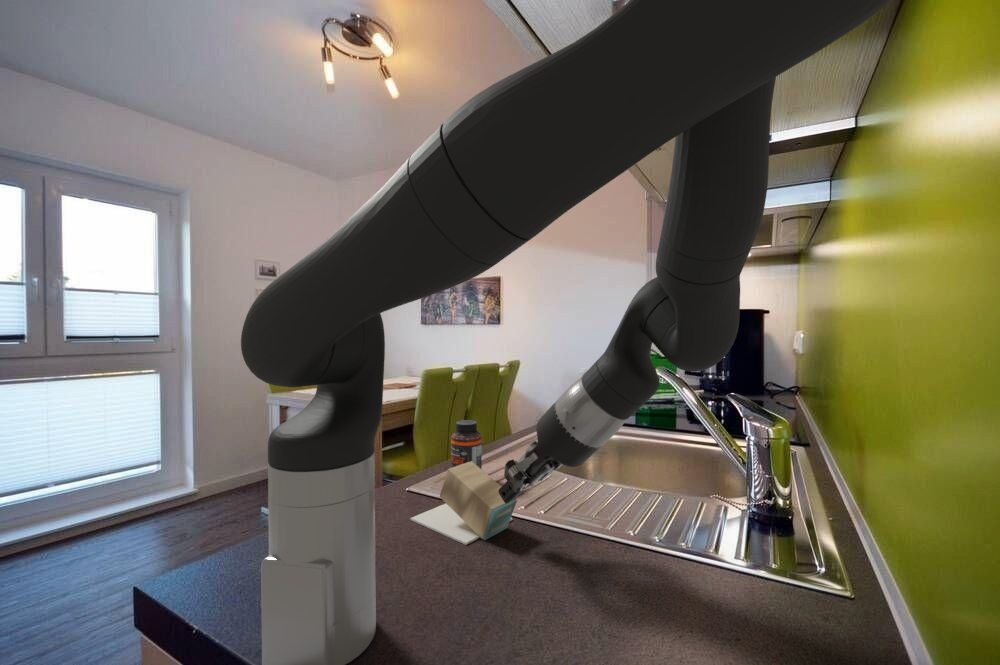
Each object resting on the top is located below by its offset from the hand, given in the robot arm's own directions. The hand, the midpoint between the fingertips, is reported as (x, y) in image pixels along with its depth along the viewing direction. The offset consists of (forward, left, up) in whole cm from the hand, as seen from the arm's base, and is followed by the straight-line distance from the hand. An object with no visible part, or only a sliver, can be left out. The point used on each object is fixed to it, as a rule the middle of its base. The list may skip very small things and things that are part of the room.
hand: (505, 496), depth 60 cm
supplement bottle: (+22, +11, -6) cm, 25 cm away
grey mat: (+4, +8, -6) cm, 11 cm away
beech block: (0, +1, -4) cm, 4 cm away
